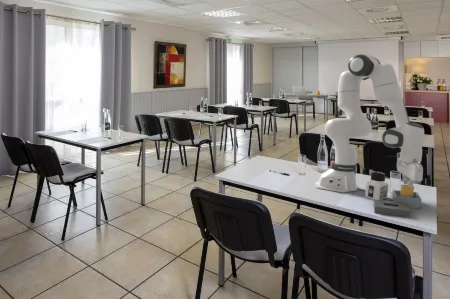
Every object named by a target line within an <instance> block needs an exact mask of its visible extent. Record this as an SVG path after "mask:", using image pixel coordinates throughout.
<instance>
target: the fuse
mask: <svg viewBox="0 0 450 299" xmlns="http://www.w3.org/2000/svg"><path fill="white" fill-rule="evenodd" d="M414 189H415V186H414V185H413V187H408V184H401V185H400V194H401V197H409V198H412V196H413V192H415V190H414Z"/></svg>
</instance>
